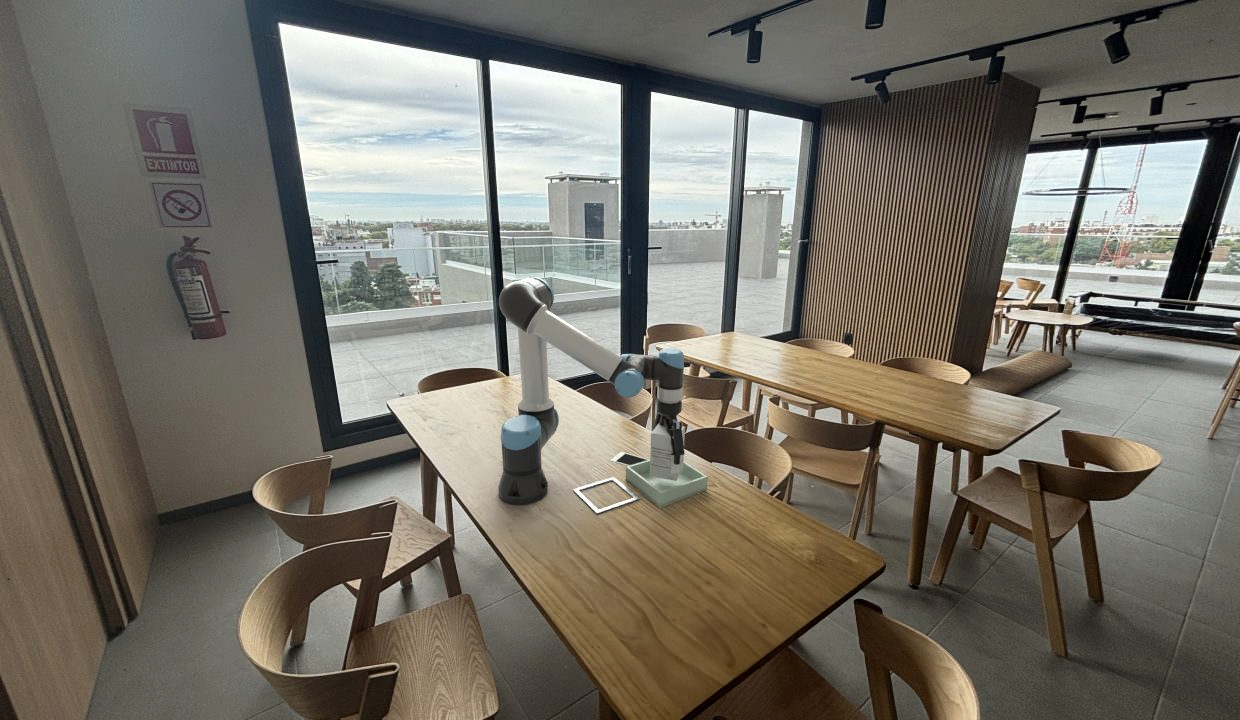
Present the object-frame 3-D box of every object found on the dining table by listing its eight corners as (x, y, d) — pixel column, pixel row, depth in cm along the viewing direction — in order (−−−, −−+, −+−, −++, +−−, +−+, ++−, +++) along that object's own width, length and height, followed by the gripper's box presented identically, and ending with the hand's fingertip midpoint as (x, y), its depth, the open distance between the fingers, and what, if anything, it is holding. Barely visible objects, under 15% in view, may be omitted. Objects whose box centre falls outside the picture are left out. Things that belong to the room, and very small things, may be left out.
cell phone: (621, 453, 180) (621, 451, 180) (660, 464, 173) (660, 462, 172) (610, 461, 174) (610, 460, 174) (650, 473, 166) (650, 472, 166)
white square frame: (597, 514, 142) (597, 513, 142) (573, 490, 154) (573, 489, 154) (639, 499, 150) (639, 498, 150) (613, 478, 162) (613, 476, 162)
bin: (660, 508, 146) (660, 493, 144) (625, 480, 161) (626, 466, 159) (706, 490, 156) (707, 476, 154) (670, 466, 171) (671, 453, 169)
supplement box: (657, 463, 163) (658, 421, 158) (683, 468, 159) (685, 426, 155) (648, 476, 154) (650, 432, 150) (676, 481, 151) (678, 437, 147)
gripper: (698, 412, 140) (694, 480, 146) (665, 385, 162) (663, 445, 168) (674, 415, 138) (671, 483, 144) (644, 387, 160) (642, 447, 166)
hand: (666, 463), depth 156 cm, fingers closed on supplement box, 12 cm apart
